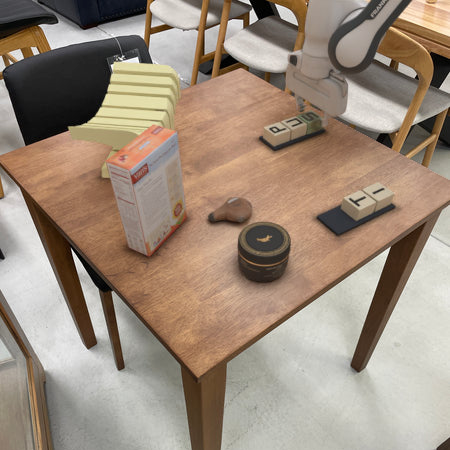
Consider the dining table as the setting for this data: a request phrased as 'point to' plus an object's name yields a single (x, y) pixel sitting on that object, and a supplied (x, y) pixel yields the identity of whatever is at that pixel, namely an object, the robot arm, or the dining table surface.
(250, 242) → the jar
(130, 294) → the dining table surface
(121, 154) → the cracker box
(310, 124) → the s tile
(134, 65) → the slatted curved stool
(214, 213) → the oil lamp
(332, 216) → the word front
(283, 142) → the word back
